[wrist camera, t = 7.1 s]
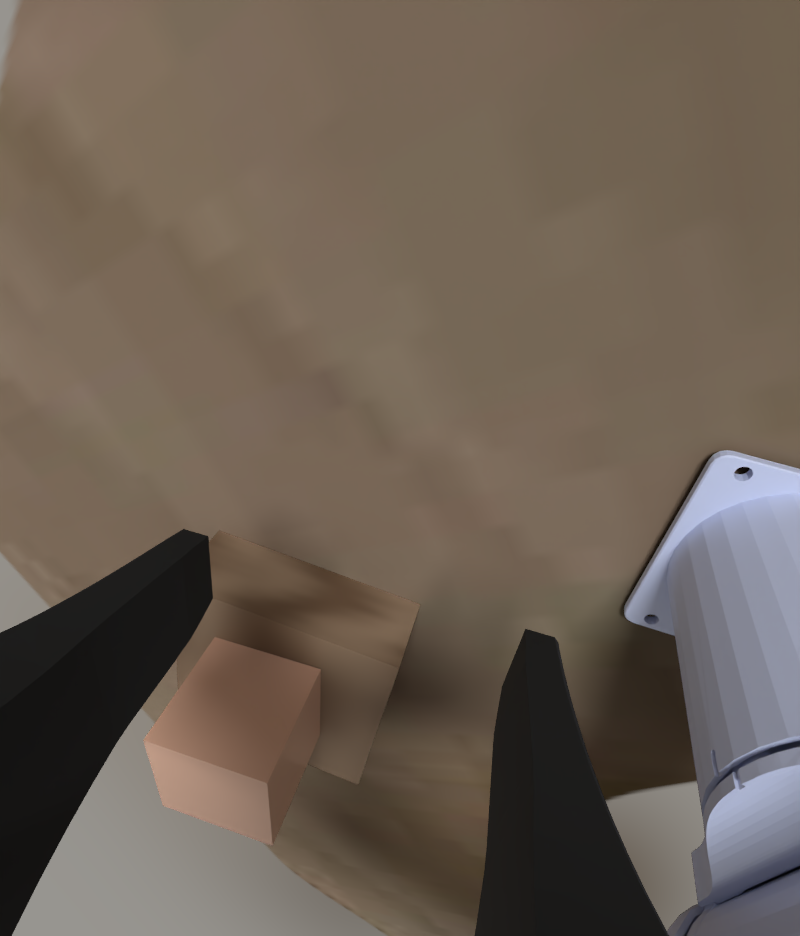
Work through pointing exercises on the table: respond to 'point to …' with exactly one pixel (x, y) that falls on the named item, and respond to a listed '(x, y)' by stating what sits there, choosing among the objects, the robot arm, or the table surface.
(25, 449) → the table surface
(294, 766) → the terracotta cube
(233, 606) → the walnut block
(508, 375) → the table surface
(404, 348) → the table surface
